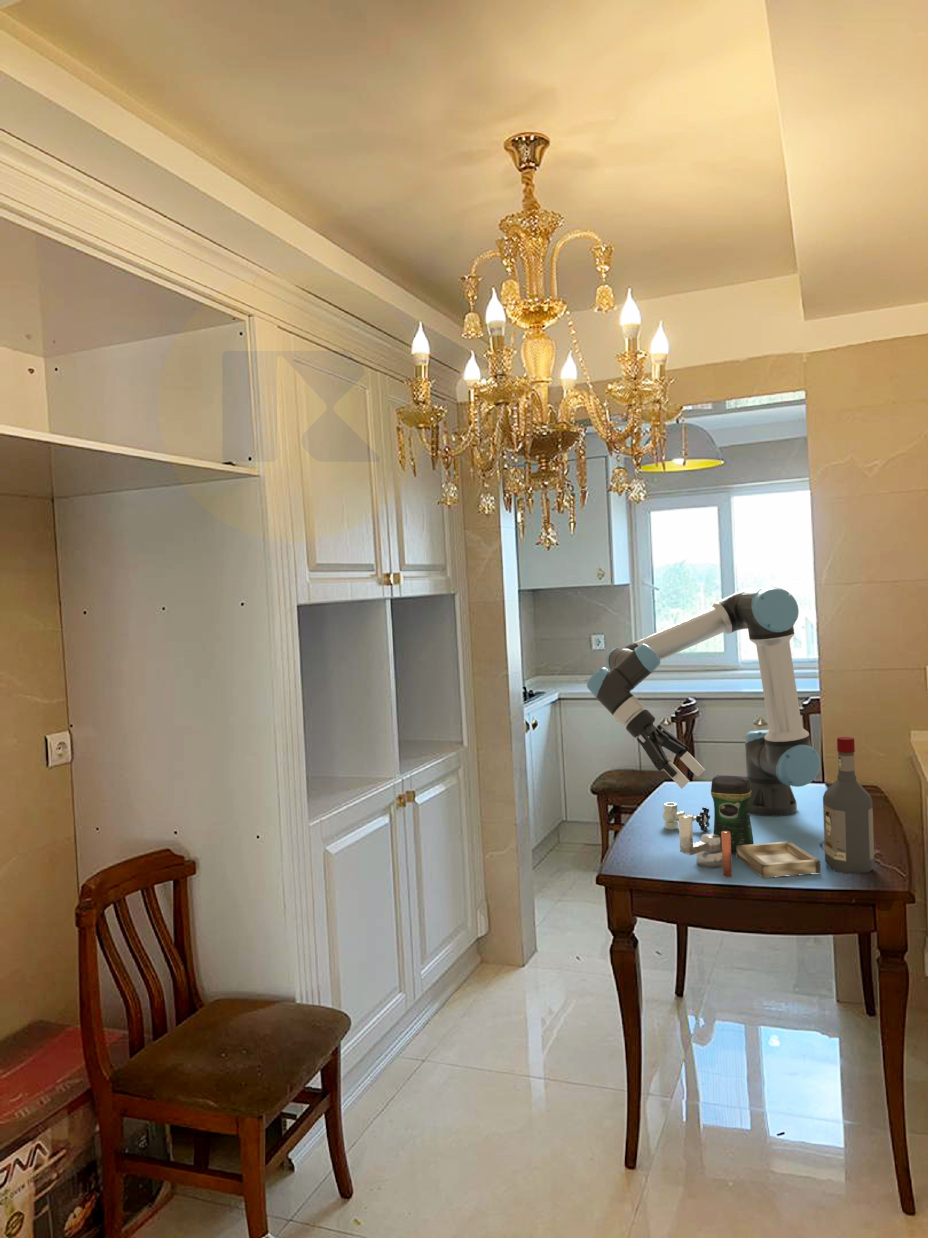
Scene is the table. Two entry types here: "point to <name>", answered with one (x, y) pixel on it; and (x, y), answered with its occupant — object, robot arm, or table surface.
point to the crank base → (718, 856)
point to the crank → (689, 848)
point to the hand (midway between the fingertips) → (693, 779)
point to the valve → (673, 816)
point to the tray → (777, 859)
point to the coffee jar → (732, 809)
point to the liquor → (848, 817)
